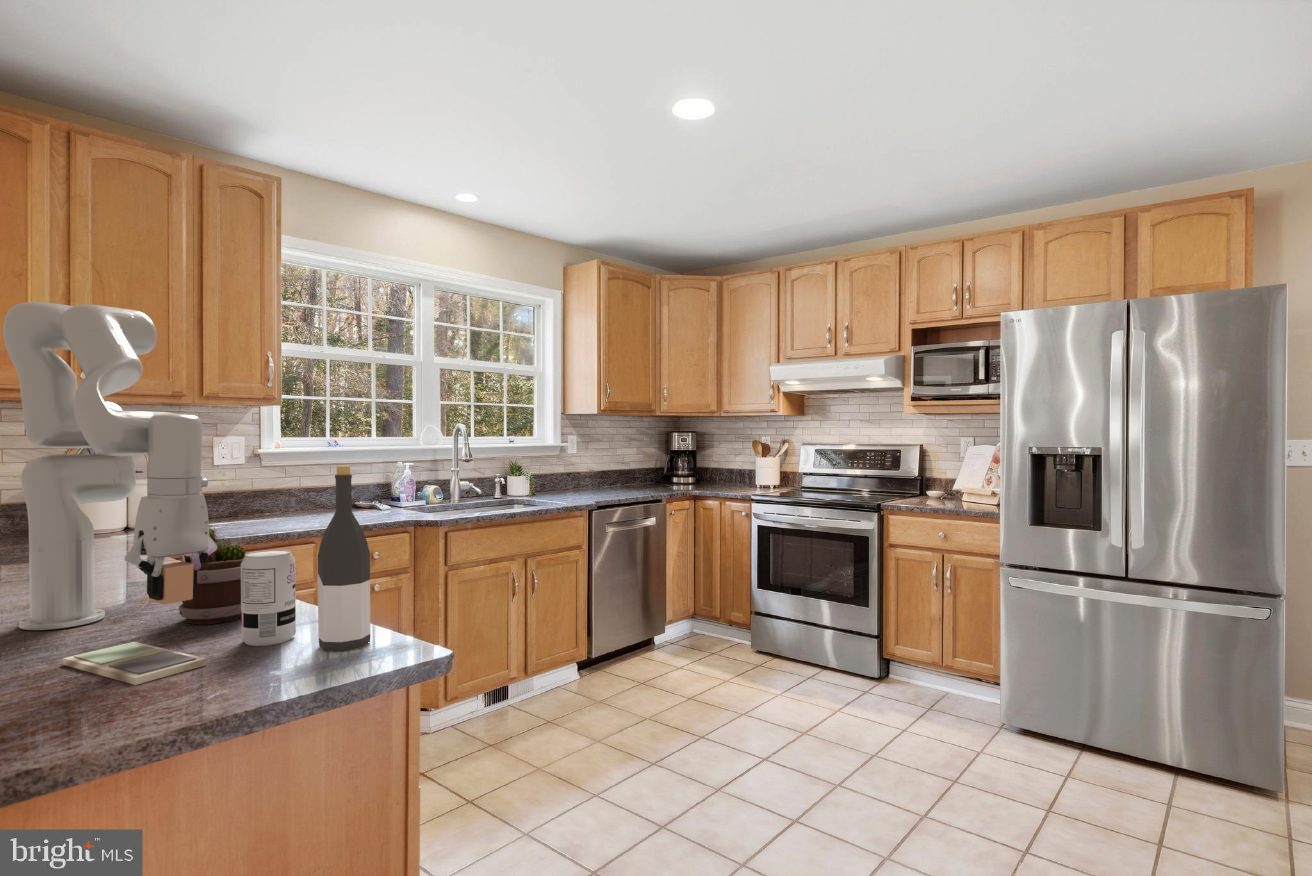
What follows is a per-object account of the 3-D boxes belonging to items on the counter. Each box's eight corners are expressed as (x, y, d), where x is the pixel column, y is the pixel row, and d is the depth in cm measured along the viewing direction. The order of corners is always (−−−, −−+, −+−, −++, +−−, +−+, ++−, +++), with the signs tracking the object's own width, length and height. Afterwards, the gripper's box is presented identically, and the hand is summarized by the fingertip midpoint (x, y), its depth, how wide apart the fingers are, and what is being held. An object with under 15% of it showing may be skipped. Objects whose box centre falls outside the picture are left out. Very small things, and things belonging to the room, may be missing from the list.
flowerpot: (221, 606, 150) (220, 509, 150) (278, 613, 145) (277, 512, 145) (151, 624, 136) (150, 517, 136) (210, 631, 131) (209, 520, 131)
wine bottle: (368, 649, 120) (366, 466, 120) (314, 653, 118) (313, 467, 117) (372, 636, 128) (371, 464, 127) (322, 640, 125) (320, 465, 125)
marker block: (149, 600, 122) (150, 564, 122) (177, 594, 126) (178, 560, 126) (164, 604, 120) (165, 568, 120) (192, 599, 124) (193, 564, 124)
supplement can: (234, 640, 125) (233, 553, 125) (285, 631, 131) (284, 547, 131) (251, 650, 120) (250, 558, 120) (303, 639, 126) (302, 552, 126)
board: (63, 664, 113) (62, 656, 113) (134, 647, 121) (134, 640, 121) (135, 685, 103) (135, 676, 103) (206, 664, 112) (206, 657, 112)
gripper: (211, 482, 132) (209, 583, 132) (105, 489, 117) (103, 602, 117) (237, 486, 128) (234, 589, 129) (131, 493, 113) (129, 610, 114)
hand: (172, 594), depth 123 cm, fingers closed on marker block, 4 cm apart
